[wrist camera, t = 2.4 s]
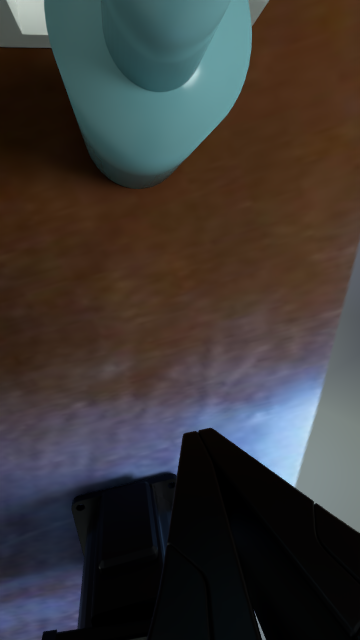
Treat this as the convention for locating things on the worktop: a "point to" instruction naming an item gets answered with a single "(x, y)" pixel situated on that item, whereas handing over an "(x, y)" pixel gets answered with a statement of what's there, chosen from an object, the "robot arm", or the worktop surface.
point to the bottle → (148, 77)
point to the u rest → (30, 25)
